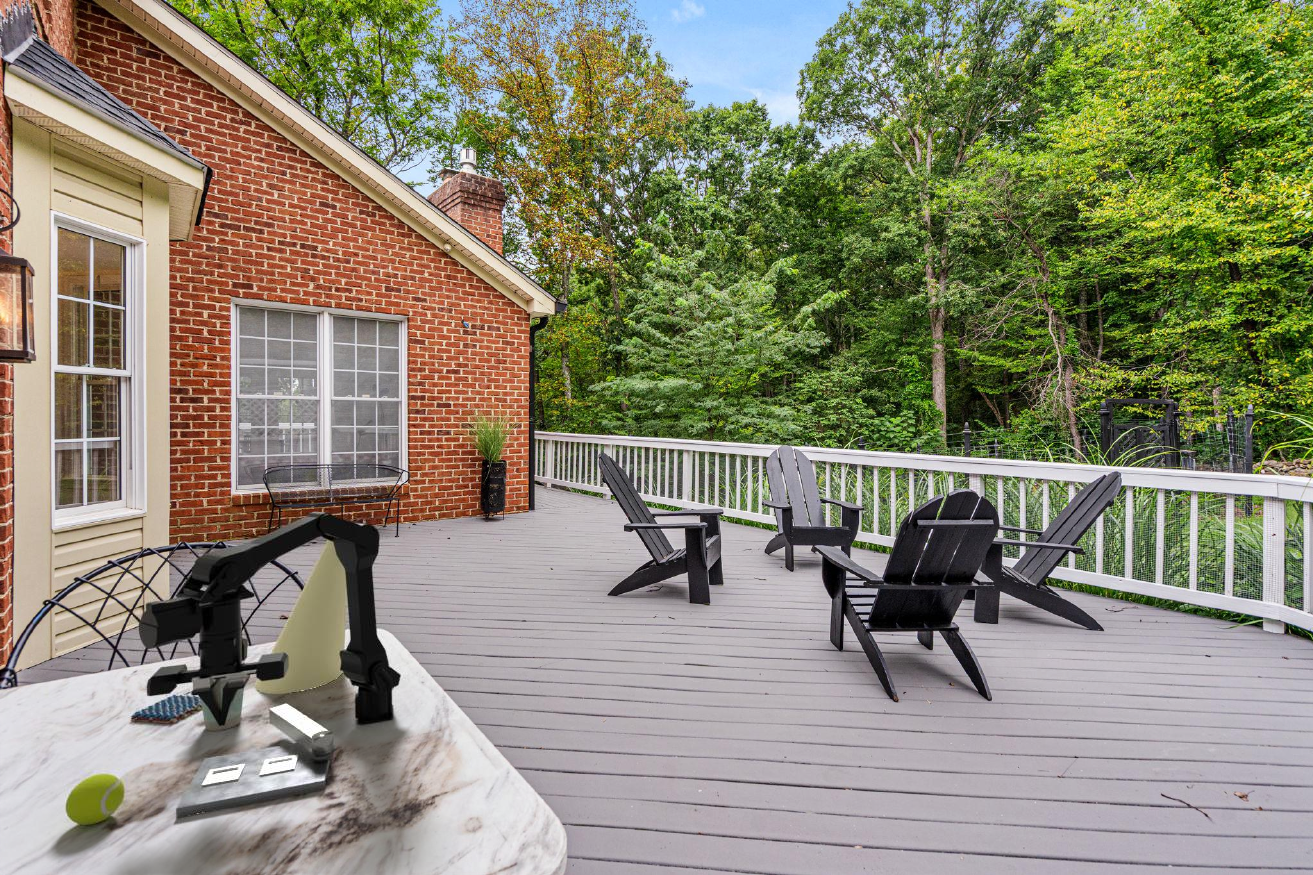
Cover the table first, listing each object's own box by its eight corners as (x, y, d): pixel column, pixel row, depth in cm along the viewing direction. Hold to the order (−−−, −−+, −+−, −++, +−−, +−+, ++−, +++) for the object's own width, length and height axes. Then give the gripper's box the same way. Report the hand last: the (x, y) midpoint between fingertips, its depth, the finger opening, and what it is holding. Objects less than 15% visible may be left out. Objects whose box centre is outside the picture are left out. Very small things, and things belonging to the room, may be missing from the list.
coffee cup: (223, 736, 125) (221, 673, 124) (185, 732, 126) (184, 670, 126) (258, 716, 133) (257, 658, 133) (223, 713, 135) (222, 655, 134)
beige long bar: (336, 750, 113) (335, 734, 113) (316, 757, 111) (316, 741, 111) (287, 717, 126) (286, 702, 126) (268, 723, 124) (268, 708, 124)
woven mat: (216, 704, 140) (216, 695, 140) (173, 727, 130) (173, 716, 130) (173, 702, 142) (173, 692, 142) (127, 724, 131) (127, 714, 131)
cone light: (235, 686, 148) (232, 533, 148) (306, 659, 165) (304, 521, 164) (313, 703, 139) (309, 539, 138) (380, 673, 156) (377, 526, 155)
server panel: (336, 744, 121) (336, 730, 121) (328, 788, 106) (328, 773, 106) (204, 767, 113) (204, 752, 113) (176, 818, 98) (175, 801, 98)
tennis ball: (94, 807, 101) (93, 765, 101) (136, 807, 101) (135, 765, 101) (53, 834, 95) (51, 789, 95) (98, 835, 95) (96, 789, 94)
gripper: (292, 610, 118) (294, 696, 118) (167, 623, 111) (169, 714, 111) (282, 628, 108) (284, 722, 108) (144, 643, 101) (146, 744, 101)
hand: (222, 724), depth 107 cm, fingers closed
